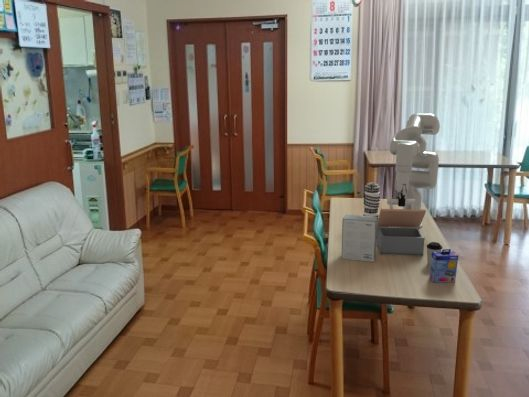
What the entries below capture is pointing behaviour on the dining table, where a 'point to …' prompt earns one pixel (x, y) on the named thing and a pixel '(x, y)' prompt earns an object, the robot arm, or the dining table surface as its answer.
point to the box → (400, 241)
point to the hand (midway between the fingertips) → (400, 205)
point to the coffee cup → (432, 250)
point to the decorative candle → (371, 200)
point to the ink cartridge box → (443, 266)
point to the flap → (400, 215)
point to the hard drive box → (359, 237)
